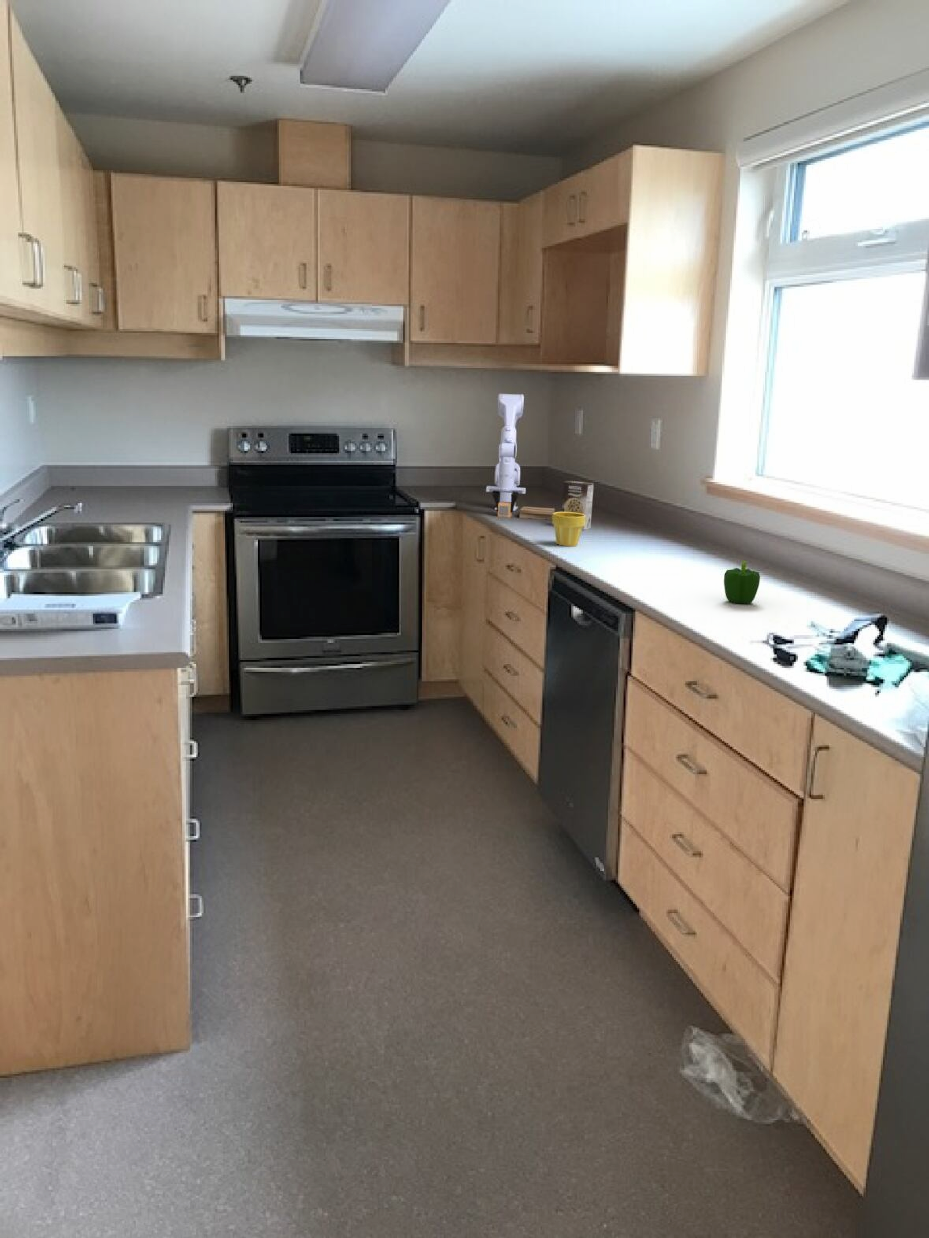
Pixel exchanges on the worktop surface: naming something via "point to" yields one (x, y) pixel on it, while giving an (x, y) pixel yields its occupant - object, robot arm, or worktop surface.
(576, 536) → the plant pot
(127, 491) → the worktop surface
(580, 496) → the brown cookie box
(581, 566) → the worktop surface
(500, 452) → the robot arm
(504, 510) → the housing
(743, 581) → the bell pepper
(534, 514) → the stand
